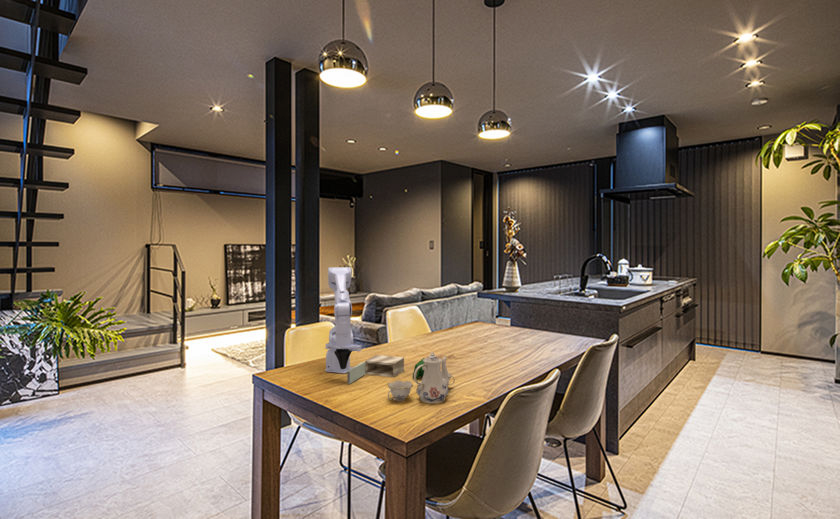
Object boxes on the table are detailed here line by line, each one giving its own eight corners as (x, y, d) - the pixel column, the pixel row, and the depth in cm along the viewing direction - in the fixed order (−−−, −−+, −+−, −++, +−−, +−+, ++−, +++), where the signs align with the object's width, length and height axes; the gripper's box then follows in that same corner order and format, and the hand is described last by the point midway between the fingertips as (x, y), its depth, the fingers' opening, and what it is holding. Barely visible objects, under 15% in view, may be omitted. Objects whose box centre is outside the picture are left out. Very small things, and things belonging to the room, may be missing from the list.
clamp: (425, 390, 162) (428, 372, 157) (411, 385, 163) (413, 367, 159) (436, 371, 172) (438, 354, 167) (422, 366, 173) (424, 349, 169)
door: (364, 373, 168) (364, 361, 168) (365, 373, 167) (365, 361, 167) (347, 383, 155) (347, 370, 155) (349, 384, 155) (349, 370, 154)
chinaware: (439, 387, 157) (436, 343, 158) (473, 393, 145) (469, 345, 146) (380, 405, 138) (377, 355, 139) (413, 415, 126) (410, 360, 127)
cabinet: (365, 374, 168) (365, 360, 168) (375, 367, 177) (375, 354, 177) (394, 377, 164) (394, 363, 163) (404, 370, 173) (404, 357, 173)
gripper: (321, 334, 157) (321, 369, 157) (355, 336, 152) (355, 373, 153) (330, 330, 164) (331, 364, 164) (363, 333, 159) (363, 368, 159)
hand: (343, 368), depth 159 cm, fingers closed
